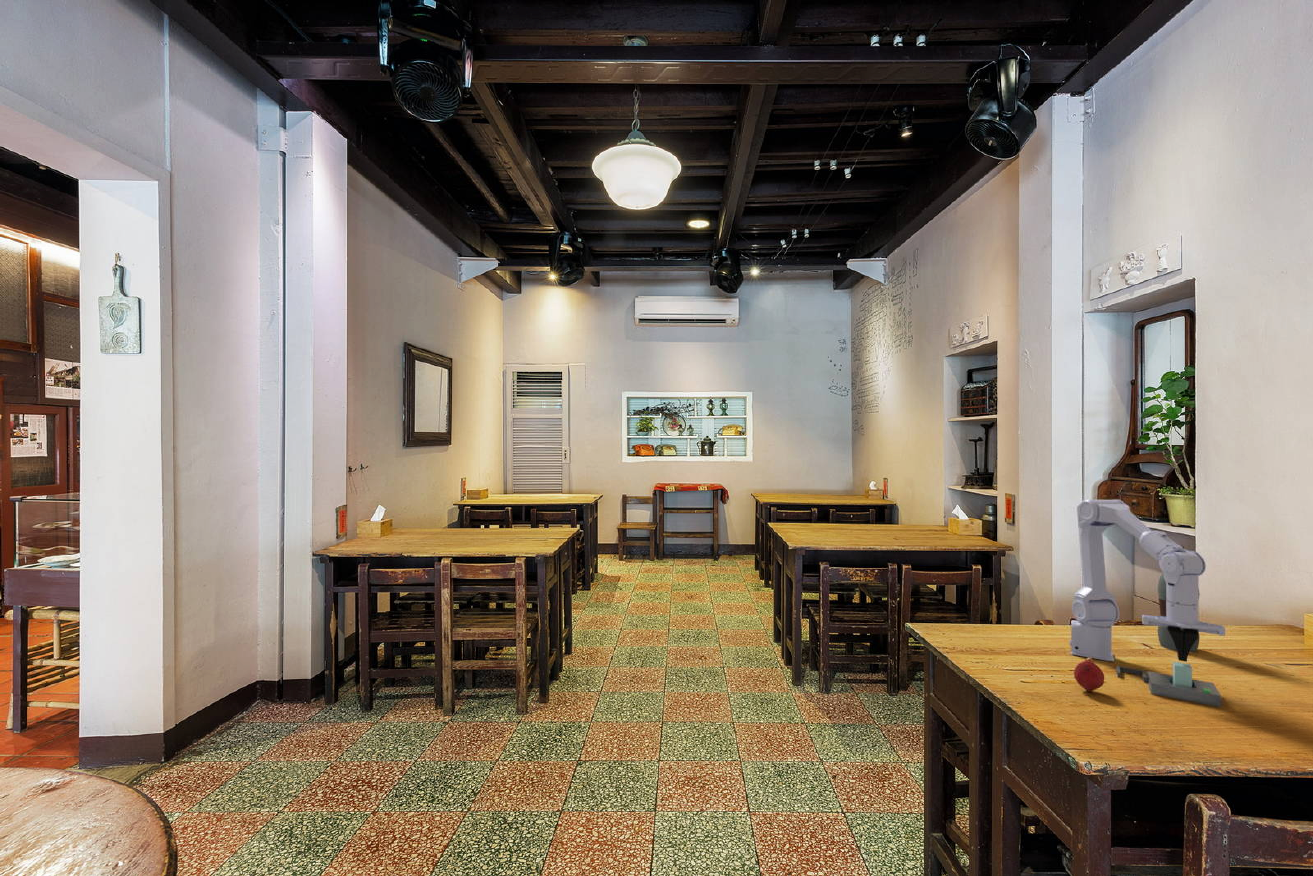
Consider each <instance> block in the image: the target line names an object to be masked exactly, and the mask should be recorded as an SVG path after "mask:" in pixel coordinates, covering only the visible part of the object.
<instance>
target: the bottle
mask: <svg viewBox="0 0 1313 876" xmlns="http://www.w3.org/2000/svg"><path fill="white" fill-rule="evenodd" d="M1179 545H1180V546H1182V547H1183V549H1184V550H1185V546H1184V545H1182V544H1179ZM1198 589H1199V588H1198ZM1199 590H1200V589H1199ZM1157 594H1158V595H1157V596H1158V604H1159V605H1158V606H1159V614H1160V615H1159V616H1161V617H1166V581H1165V579H1164V574H1163V573H1162V574H1161V575H1160V576H1159V578H1158V583H1157ZM1200 595H1201V594H1200V593H1199V596H1200ZM1181 631H1182V629H1181ZM1198 634H1199V635H1200V632H1198ZM1157 635H1158V636H1157V638H1158V641H1159V644H1160V645H1159V646H1161V647H1163V648H1164V649H1167V650H1171V651H1174V650H1175V652H1177V650H1176V647H1175V644H1174V642H1173V639H1172V637H1171V635H1170V633H1169V631H1168V629H1167V627H1163V626H1157ZM1200 638H1201V637H1200V636H1199V637H1198V639H1197V640H1196V641H1195V643H1194V644H1193V646H1192V647H1191V649H1190V652H1193V653H1197V651H1198V648H1199V644H1200Z"/></svg>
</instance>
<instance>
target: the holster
mask: <svg viewBox="0 0 1313 876" xmlns="http://www.w3.org/2000/svg"><path fill="white" fill-rule="evenodd" d="M1121 673H1125V674H1131V675H1135V676H1136V675H1137V676H1141V677H1142V681H1143V682H1144V683H1147V684H1148V682H1147V674H1146V671H1145V670H1143V669H1139V668H1132V667H1125V666H1120V665H1116V675H1117V678H1121V677H1122V676H1121Z"/></svg>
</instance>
